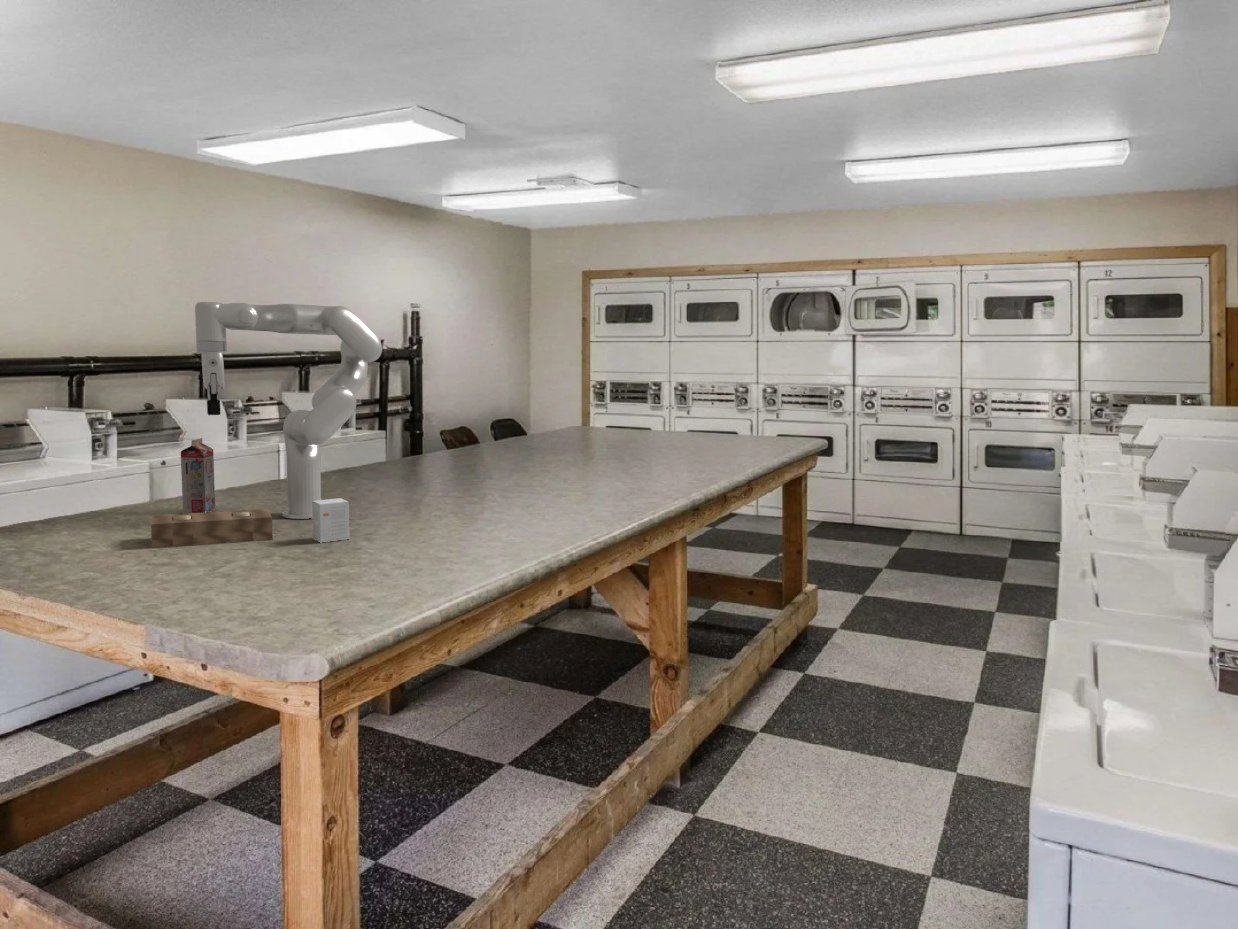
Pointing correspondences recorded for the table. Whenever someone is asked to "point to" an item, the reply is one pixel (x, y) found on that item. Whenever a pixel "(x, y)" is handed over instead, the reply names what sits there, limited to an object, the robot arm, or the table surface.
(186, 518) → the peg
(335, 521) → the small box
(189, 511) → the juice carton
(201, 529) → the press block
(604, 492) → the table surface
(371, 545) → the table surface
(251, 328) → the robot arm
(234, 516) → the peg
